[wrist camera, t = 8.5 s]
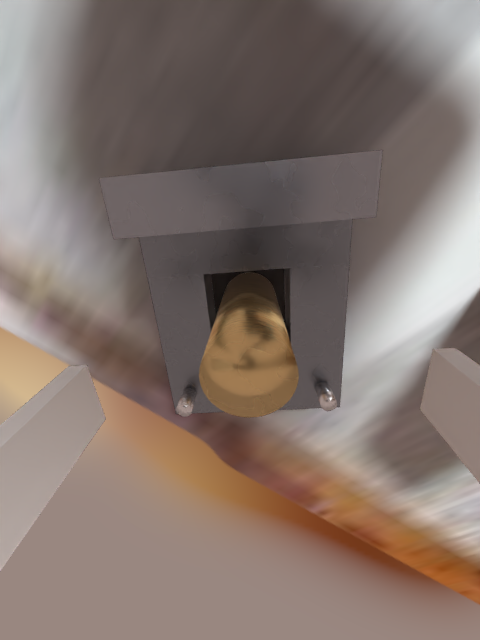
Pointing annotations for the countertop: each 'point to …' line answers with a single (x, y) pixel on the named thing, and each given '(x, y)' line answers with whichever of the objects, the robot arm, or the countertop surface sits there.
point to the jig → (249, 255)
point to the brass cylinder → (249, 351)
